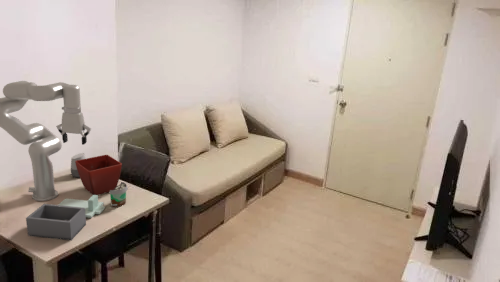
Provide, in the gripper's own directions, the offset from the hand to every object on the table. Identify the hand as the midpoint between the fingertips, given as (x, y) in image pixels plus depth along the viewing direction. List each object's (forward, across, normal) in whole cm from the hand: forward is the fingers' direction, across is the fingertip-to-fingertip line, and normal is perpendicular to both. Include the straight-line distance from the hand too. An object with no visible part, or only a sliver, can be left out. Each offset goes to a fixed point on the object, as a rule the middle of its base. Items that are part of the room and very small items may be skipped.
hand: (74, 143), depth 200 cm
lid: (+34, +5, -8) cm, 35 cm away
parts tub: (+33, +4, -28) cm, 44 cm away
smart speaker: (+34, -16, +33) cm, 50 cm away
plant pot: (+34, +4, +17) cm, 38 cm away
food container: (+34, +22, +3) cm, 40 cm away
